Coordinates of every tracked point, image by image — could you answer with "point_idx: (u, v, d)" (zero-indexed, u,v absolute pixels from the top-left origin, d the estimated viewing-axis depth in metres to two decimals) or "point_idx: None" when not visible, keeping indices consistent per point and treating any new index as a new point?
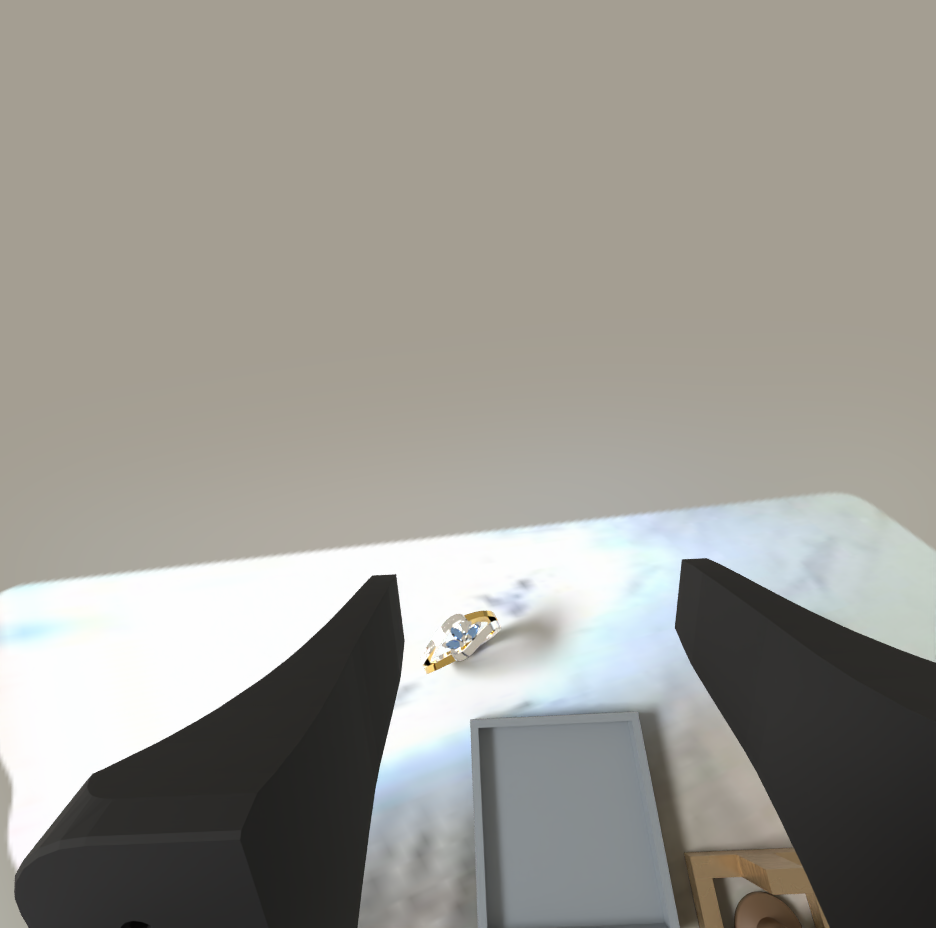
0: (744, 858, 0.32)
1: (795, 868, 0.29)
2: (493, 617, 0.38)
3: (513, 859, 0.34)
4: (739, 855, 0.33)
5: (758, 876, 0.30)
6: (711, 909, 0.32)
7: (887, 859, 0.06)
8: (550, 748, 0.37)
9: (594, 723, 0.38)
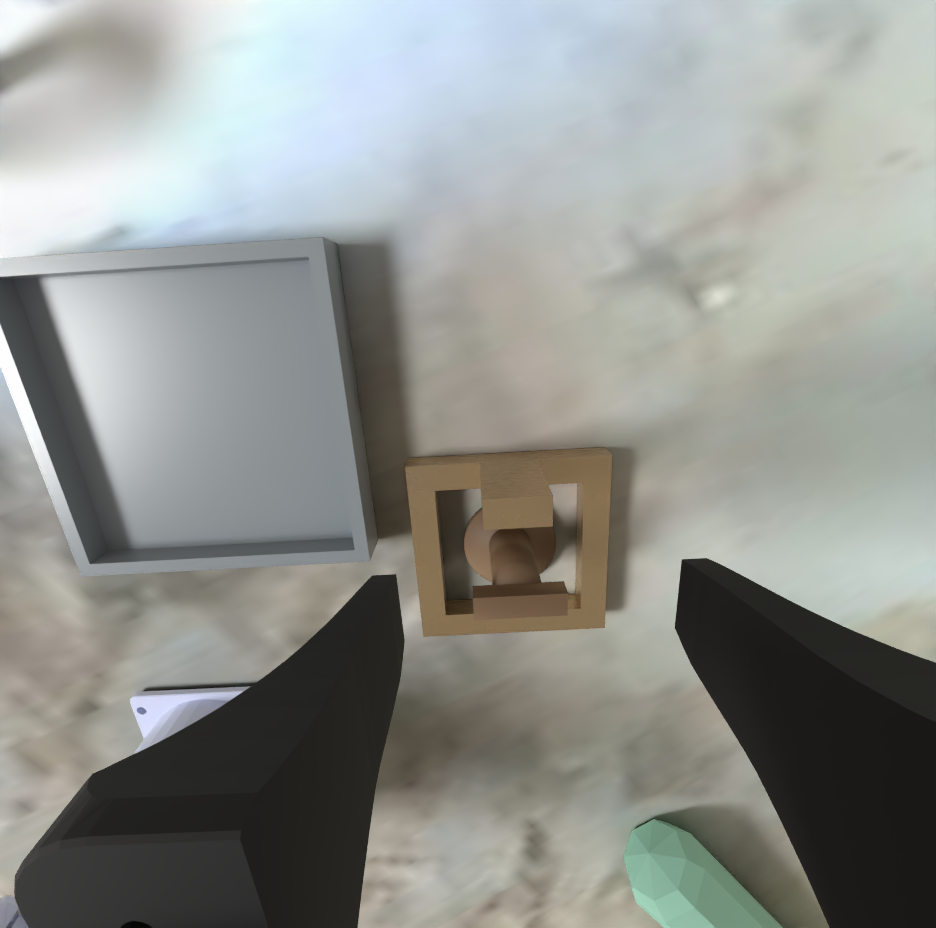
0: (481, 471, 0.19)
1: (534, 496, 0.17)
2: None
3: (129, 475, 0.21)
4: (481, 464, 0.20)
5: None
6: (426, 524, 0.21)
7: (887, 859, 0.06)
8: (165, 314, 0.19)
9: (249, 266, 0.18)
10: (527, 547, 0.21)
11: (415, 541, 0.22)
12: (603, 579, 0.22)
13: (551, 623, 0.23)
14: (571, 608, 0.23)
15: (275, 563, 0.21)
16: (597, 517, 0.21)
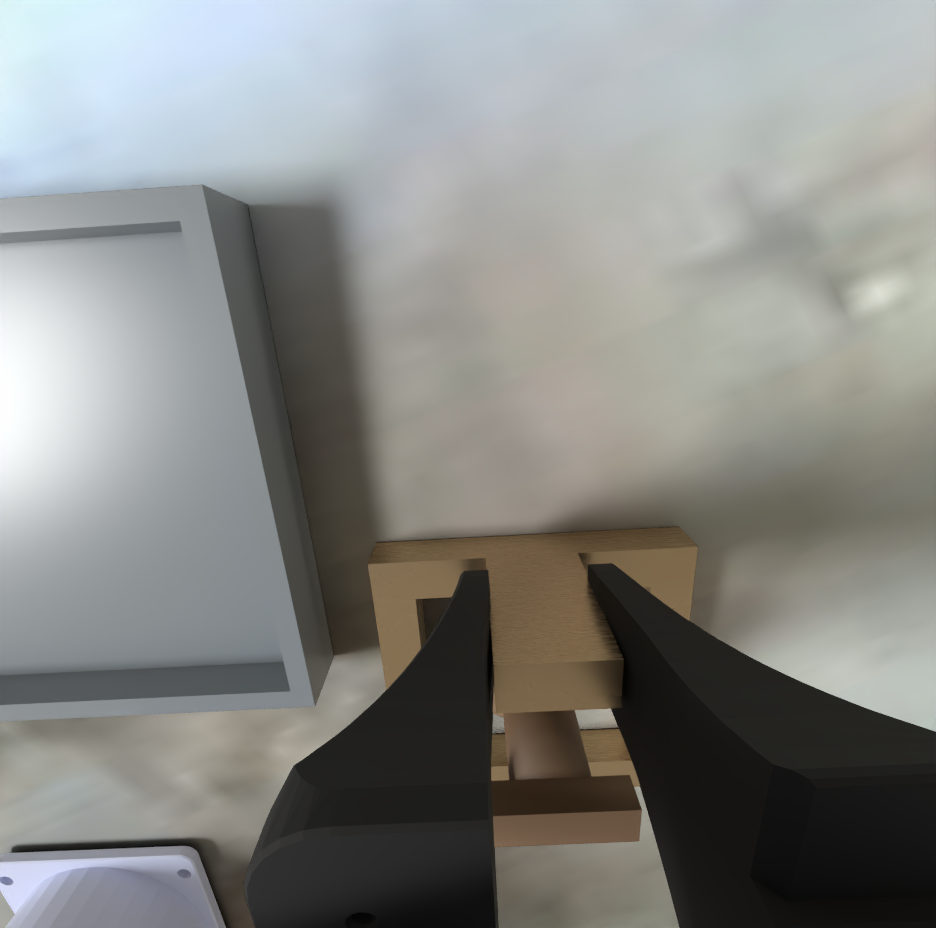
0: (490, 579, 0.12)
1: (590, 660, 0.09)
2: None
3: None
4: (489, 563, 0.13)
5: None
6: (403, 646, 0.14)
7: (710, 866, 0.06)
8: None
9: (93, 240, 0.11)
10: None
11: (387, 670, 0.14)
12: None
13: None
14: (622, 759, 0.15)
15: (168, 709, 0.14)
16: None
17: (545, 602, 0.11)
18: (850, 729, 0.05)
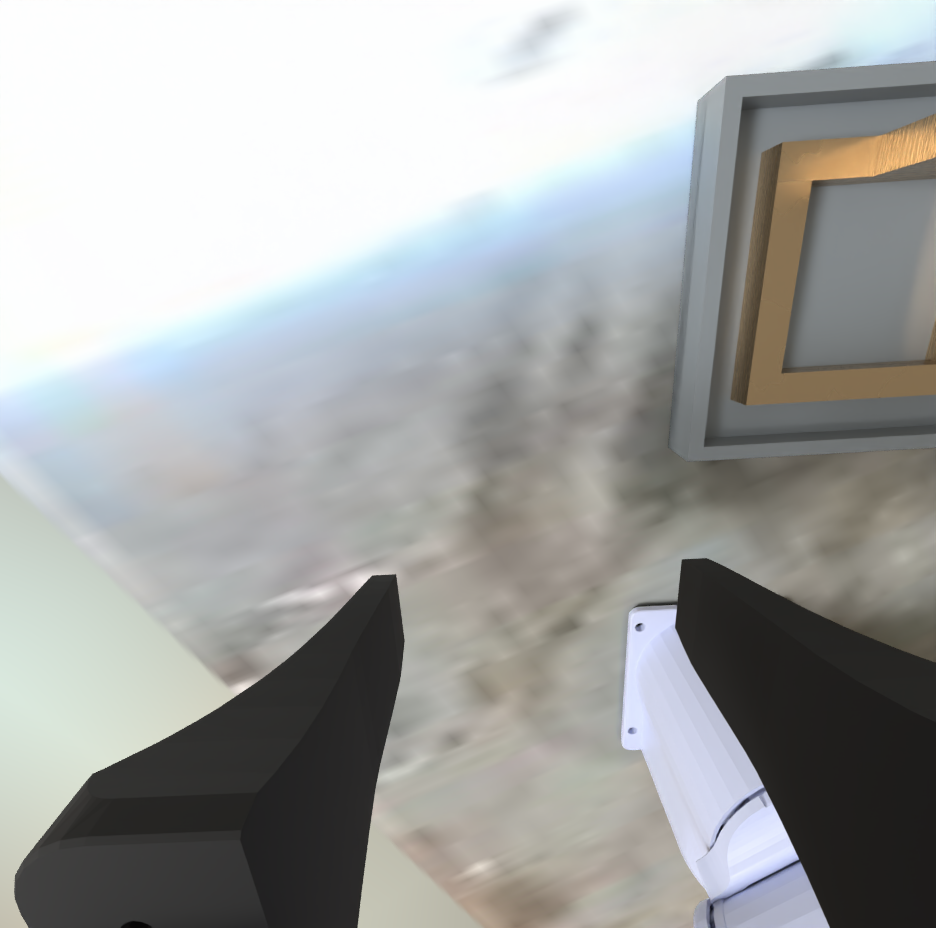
0: (910, 125, 0.15)
1: None
2: None
3: None
4: (890, 133, 0.15)
5: None
6: (788, 233, 0.17)
7: (887, 859, 0.06)
8: None
9: None
10: None
11: (769, 260, 0.17)
12: None
13: (911, 386, 0.18)
14: None
15: (907, 446, 0.19)
16: None
17: None
18: None
